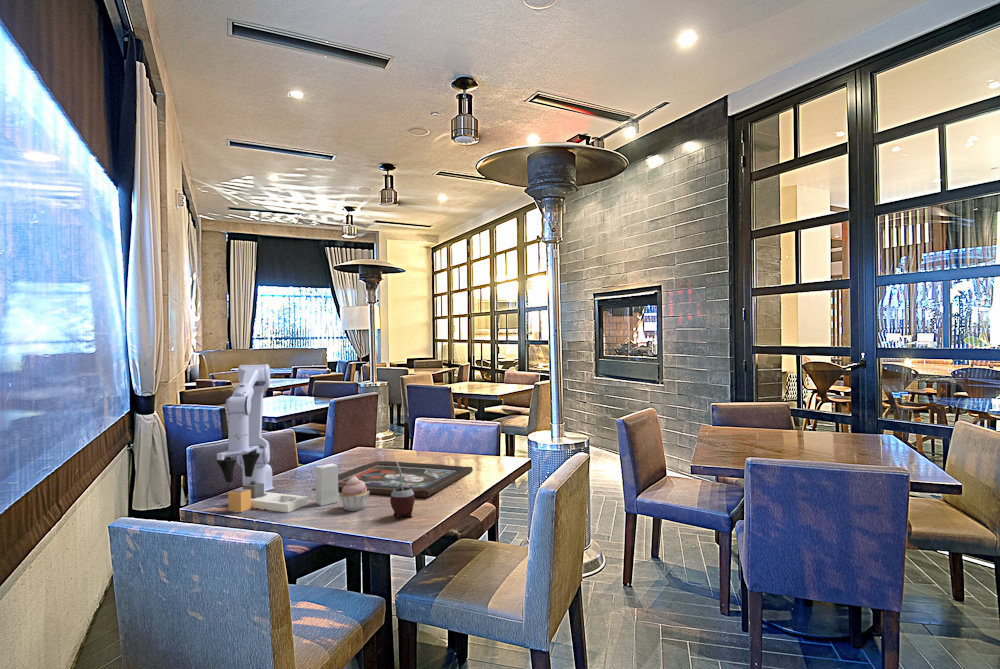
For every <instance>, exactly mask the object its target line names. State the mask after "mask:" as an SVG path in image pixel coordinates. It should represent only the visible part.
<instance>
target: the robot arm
mask: <svg viewBox="0 0 1000 669" xmlns="http://www.w3.org/2000/svg"><path fill="white" fill-rule="evenodd" d="M237 368H238V369H237V379H238V382H239V384H237V385H236V386H235V388H234V389H233V390H234V391H233V392H232V395H231V396H229V398H227V399H226V400H225V413H226V421H227V422H228V425H227V426H228V427H227V428H228V429H227V430H228V434H227V435H228V449H227V450H224V451H221V452H218V453H216V463H217V464H218V466H219V467H220V469H221V472H222V474H223V478H224V480H225V483H233V481H234V468H235V464H236V463H237V465H239V466H240V469H242V485H245V484H248V483H251V481H256V483H264V492H268V491H272V490H274V489H275V487H274V486H273V469H272V466H271V465H270V464H269V463H270V459H271V458H270V457H271V450H270V443H269V441H268V440H266V438H264V437H262V432H263V431H262V429H263V407H264V406H263V403H264V394H265V391H266V390H268V389H269V388H270V385H271V368H270V365H269V364H268V363H267V364H266V363H265V364H240V365H239V366H238V367H237ZM235 457H236V459H232V458H235Z"/></svg>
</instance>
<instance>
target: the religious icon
mask: <svg viewBox="0 0 1000 669" xmlns="http://www.w3.org/2000/svg"><path fill="white" fill-rule="evenodd" d="M396 462H398V464H399V466H400V469H401V473H402V474H401V475H402V483H403V487H408V488H411V489H412V491H413V492H414V496H415V498H416V497H417V498H418V497H419V498H427V497H430V496H431V495H434V494H435V493H437V492H440V491H441V490H443V489H445V488H446V487H448V486H449V485H450V486H453V485H454V486H456V483H455V482H456V481H458V480H460V479H461V478H463V477H465V476H467V475H469V474H470V473H472V472H473V470H474V468H473V466H461V465H447V464H439V463H438V464H437V463H423V462H420V463H419V462H407V461H406V462H404V461H389V460H380V461H379V460H377V461H372V462H370V463H366V464H363V465H360V466H358V467H354V468H352V469H349V470H347V471H344V472H341V473H338V492H342V489H343V487H344V486H345V485H346V482H347V481H348V480H349V479H350V478H352V477H353V476H355V477H357V478H358V479H359V480H361V481H363V482H364V483H365V485H366V487H367V491H369V494H376V495H378V494H379V495H390V496H391V493H392V492H393V490H394V489H396V488H400V487H401V481H400V474H399V469H398V466H397V463H396Z"/></svg>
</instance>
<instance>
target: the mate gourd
mask: <svg viewBox="0 0 1000 669" xmlns="http://www.w3.org/2000/svg"><path fill="white" fill-rule="evenodd" d="M395 462H396V463H397V466H398V469H399V474H400V481H401V487H400V488H396V489H394V490H393V492H392V493H391V495H390V498H389V499H390V500H389V503H390V505H391V508H392V510H393V512H394V513H392V514H393V517H395V520H396V521H399V520H400V519H403V518H407V519H412V518H413V515H412V513H413V509H414V505H415V500H416V499H415V498H416V497H415V496H414V492H413V491H412V489H411V488H408V487H403V483H402V475H401V474H402V473H401V469H400V466H399V464H398V462H399V461H395Z"/></svg>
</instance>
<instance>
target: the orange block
mask: <svg viewBox="0 0 1000 669" xmlns="http://www.w3.org/2000/svg"><path fill="white" fill-rule="evenodd" d="M227 493H228V497H227V505H228V512H229V511H237V512H242V511H245V510H248V509H251V510H252V508H251V490H248V489H242V488H240V487H239V488H236V489H233V490H230V491H228V492H227ZM248 511H249V510H248ZM237 512H236V513H237ZM245 512H246V511H245Z"/></svg>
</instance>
